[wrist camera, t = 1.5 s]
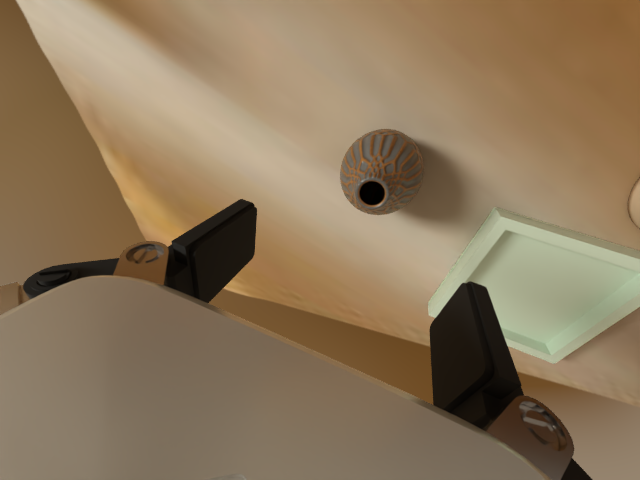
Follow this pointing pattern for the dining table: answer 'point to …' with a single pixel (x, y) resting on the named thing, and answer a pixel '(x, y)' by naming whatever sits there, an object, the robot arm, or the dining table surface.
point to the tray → (546, 282)
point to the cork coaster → (635, 204)
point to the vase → (381, 171)
